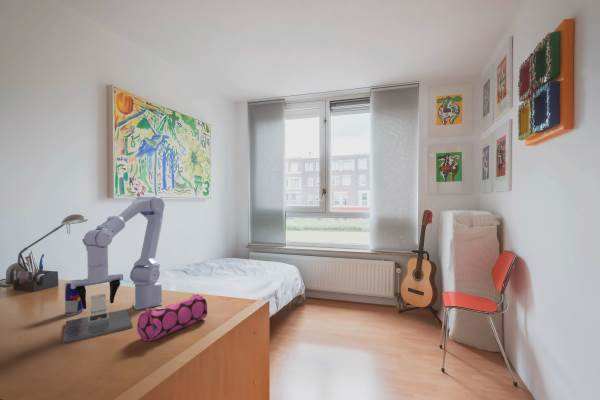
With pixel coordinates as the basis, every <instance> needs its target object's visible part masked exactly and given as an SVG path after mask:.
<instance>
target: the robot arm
mask: <svg viewBox="0 0 600 400" xmlns="http://www.w3.org/2000/svg"><path fill="white" fill-rule="evenodd" d="M165 205H166V204H165V202H164V200H163V199H162V197H160V196H159V195H156V196H138V197H136V199H133V200H132V202H131V204H130V205H129V206H127V208H125V209H124V210H123V211H122V212H121V213H119V215H113V216H111V215H110V216H108V217H107V219H106V220H105V221H104V222H102V224H100V225H99V224H98V225H97V226H96V228H95V229H90V230H88V231H87V232H86V233H84V234H85V235H84V237H83V238H82V243H83V245H84V246H85V250H86V253H87V254H86V255H87V278H83V279H78V280H79V281H74V282H71V289H76V291H77V293H78V295H79V297H80V299H81V302H82V306H83V310H86V309H87V301H86V298H87V296H86V295H87V289H86V287H89V286H96V285H102V284H105V283H106V284H107V283H109V284H108V285H109V303H110V304H113V303H114V301H115V298H116V294H117V291H118V290H119V288H120V286H121V281H124V275H123V274H122V273H119V274H110V275H109V250H108V249H109V247H108V246H110V245H111V243H112V242H113V239H114V237H115V236H116V235H118V234H119V232H121V231H122V230H124V229H125V227H126V223H127V222H129V221H130V220H131V219H132V218H134V217H135V216H137V215H138V214H141V216H143V217H144V218H145V219H146V220H147V224H146V228H145V234H144V237H143V238H144V239H143V243H142V246H141V247H142V248H141V252H140V253H141V254H140V257H139V258H138V260H136V261H135V262H134V264H133V267H132V269H131V270H130V274H129V279H130V281H132V282H133V285H134V301H135V302H134V303H133V304H132V306H133V308H134V310H135V311H140V310H143V309H146V308H148V309H150V308H155V307H158V306H162V305H163V301H162V300H163V299H162V298H163V295H162V294H163V293H162V289H163V288H162V283H161V281H158V280H159V278H160V273H161V272H160V263H159V262H158V261H157V260H156V256H157V251H158V246H159V240H160V234H161V231H162V230H161V229H162V224H163V219H164V210H165Z"/></svg>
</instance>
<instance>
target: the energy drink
mask: <svg viewBox="0 0 600 400" xmlns="http://www.w3.org/2000/svg"><path fill="white" fill-rule="evenodd" d="M79 280H80V279H71V280H69V281H65V284H64V313H65V316H71V317H72V316H76V315H79V314H82V313H83V311H84V309H83V306H82V302H81V299H80V297H79V295H78V293H77V291H76V289H71V282H74V281H79Z"/></svg>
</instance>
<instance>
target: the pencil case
mask: <svg viewBox="0 0 600 400" xmlns="http://www.w3.org/2000/svg"><path fill="white" fill-rule="evenodd" d="M207 315H208V303H207V299H206V298H205V297H204V295H200V294H198V293H196V294H193V295H192V296H190V298H188V299H185V300H183V301H180V302H177V303H173V304H170V305H167V306H165V307H159V308H156V307H152V308H145V311H143V312H142V313H141V314H140V315H139V316H138V320H137V324H136V328H137V333H138V335H139V337H140V338H141V339H143V340H144V341H146V342H152V341H156V340H157V339H159V338H162V337H165V336H166V335H168V334H169V335H170V334H172V333H174V332H176V331H178V330H180V329H183V328H186V327H189V326H191V325H193V324H195V323H197V322H199V321H201V320H202V319H203V320H204V319H205V318H207Z"/></svg>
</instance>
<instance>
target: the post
mask: <svg viewBox="0 0 600 400" xmlns="http://www.w3.org/2000/svg"><path fill="white" fill-rule="evenodd" d="M106 297H107V296H106V293H102V294H95V295H91V296H90V316H93V315H98V314H103V313H107V300H106V299H107V298H106Z"/></svg>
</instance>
